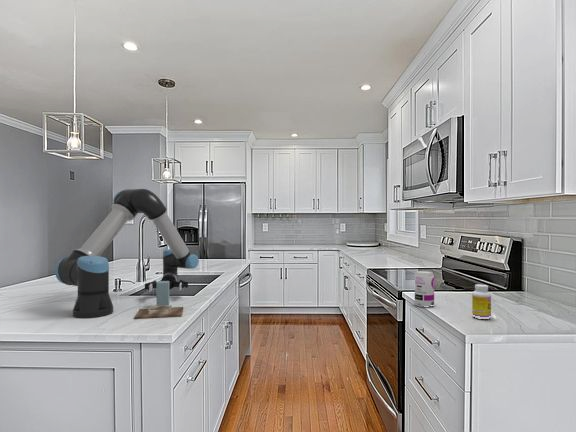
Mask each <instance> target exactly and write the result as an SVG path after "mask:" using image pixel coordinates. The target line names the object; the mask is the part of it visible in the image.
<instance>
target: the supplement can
mask: <svg viewBox="0 0 576 432" xmlns="http://www.w3.org/2000/svg"><path fill="white" fill-rule="evenodd" d="M414 304H415V305H416V307H419V308H424V307H423V306H430V305H434V306H435V274H434V272H433V271H429V270H418V271H415V274H414Z"/></svg>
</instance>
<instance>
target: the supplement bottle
mask: <svg viewBox="0 0 576 432" xmlns="http://www.w3.org/2000/svg"><path fill="white" fill-rule="evenodd" d="M471 293H472V294H471V295H472V296H471V297H472V298H471V299H472V301H471V303H472V304H471V306H472V309H471V311H472V312H471V313H472V314H473V315H475V316H480V317H489V316H491V317H492V295H491V293H490V292H489V285H487V284H479V283H478V284H477V283H476V284H474V291H473V292H471ZM472 314H471V315H472Z"/></svg>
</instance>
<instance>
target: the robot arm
mask: <svg viewBox="0 0 576 432" xmlns="http://www.w3.org/2000/svg"><path fill="white" fill-rule="evenodd" d="M112 201H113V202H112V205H111V211H110V212H109V213H108V215H107V216H106V217H105V218H104V220H103V221H101V223H100V224H99V225H98V227H97V228H95V230H94V231H93V233H92V234H91V235H90V236H89V237H88V238H87V240H85V242H84V243H83V244H82V245H81V247H80V248H75V249H73V251H72V252H70V254H69V255H68V256H65V257H63V258H61V259H60V260H58V262H56V265H55V268H54V275H55V278H56V279H57V280H58V282H59V283H61V284H64V285H66V286H73V287H77V297H76V300H75V303H74V305H73V309H72V317H74V318H79V319H81V318H82V319H84V318H85V319H89V318H99V317H104V316H108V315H110V314H112V313H114V305H113V302H112V299H111V296H110V293H109V288H110V286H109V285H110V281H109V280H110V278H109V277H110V275H109V274H110V273H109V271H110V266H109V265H110V264H109V260H108V259H107V258H106V257H103V256H101V255H103V253H104V251H105V250H106V249H107V248H108V246H109V245H110V244H111V243H112V241H114V239H115V238H116V237H117V235H118V234H119V232H121V230H122V229H123V227H124V226H125V225H127V224H126V223H127V222H130V221H134V219H135V218H136V217H137V215H138V214H143V215H145V216H146V217H147V219H148V220H149V221H152V222H153V225H154V226H155V228H156V229H157V230H158V232H159V234H160V235H161V237H162V238H163V240H164V242H165V243H166V244H167V246H168V247H169V249H167V248H166V249H164V250H163V253H162V277H161V279H160V281H169V290H172V289H174V288H179V291H182V289H185V288H186V289H187V288H189V282H187V281H185V280H183V279H179V276H178V275H179V274H178V268H179V269H185V270H190V269H191V270H193V269H196V268H197V266H198V265H199V257H198V255H197V254H193V253H191V251H190V250H189V248H188V247H187V244H186V243H185V241H184V240H183V238H182V236H181V235H180V233H179V232H178V230H177V228H176V226H175V224H174V223H173V221H172V220H171V218H170V217H169V215H168V212H167V210H168V209H167V207H166V206H165V204H164V203H163V201H162V200H161V198H159V196H157V195H156V194H155V193H154V192H153V191H151V190H149V189H147V188H132V189H130V188H127V189H126V188H125V189H123V190H120V191H118V192H117V193H116V194H115V195H114V197H113V200H112ZM178 279H179V280H178ZM157 282H158V281H157V280H153V281H150V282H146V283H144V290H148V292H149V293H151V292H152V291H153V289H157Z"/></svg>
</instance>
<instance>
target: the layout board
mask: <svg viewBox="0 0 576 432" xmlns="http://www.w3.org/2000/svg"><path fill="white" fill-rule="evenodd" d="M183 312H184V306H176V307H173V306H172V305H170V304H169V305H167V306H157V305H150V306H149V308H139V309H138V311H137V312H136V314H135V315H134V316H133V317H134V319H133V320H143V319H164V318H179V317H183Z"/></svg>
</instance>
